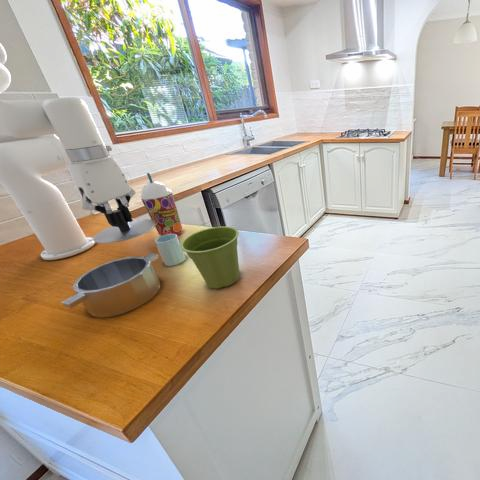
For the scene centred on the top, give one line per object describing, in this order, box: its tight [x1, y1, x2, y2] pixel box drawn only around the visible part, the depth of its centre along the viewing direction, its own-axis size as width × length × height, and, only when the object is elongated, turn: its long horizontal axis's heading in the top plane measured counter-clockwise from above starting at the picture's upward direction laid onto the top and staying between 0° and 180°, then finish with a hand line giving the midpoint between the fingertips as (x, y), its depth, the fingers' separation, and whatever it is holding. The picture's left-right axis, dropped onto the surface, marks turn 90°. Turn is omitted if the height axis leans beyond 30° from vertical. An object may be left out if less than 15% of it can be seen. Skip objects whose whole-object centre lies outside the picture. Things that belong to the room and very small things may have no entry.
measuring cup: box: [154, 234, 186, 267], centre depth 76 cm, size 5×5×7 cm
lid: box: [92, 209, 156, 245], centre depth 78 cm, size 14×14×7 cm
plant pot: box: [180, 226, 240, 290], centre depth 65 cm, size 12×12×11 cm
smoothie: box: [139, 172, 183, 236], centre depth 89 cm, size 8×8×20 cm
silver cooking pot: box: [61, 252, 161, 318], centre depth 63 cm, size 13×19×6 cm
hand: (122, 223), depth 78 cm, fingers closed on lid, 2 cm apart
